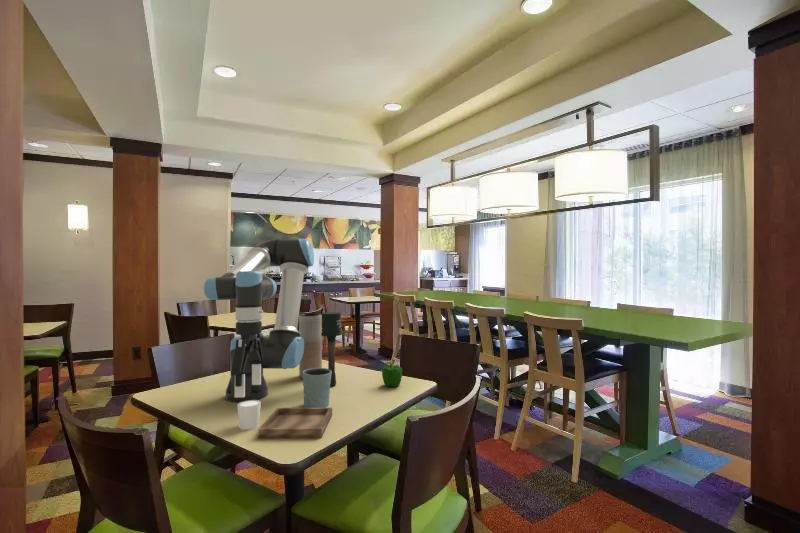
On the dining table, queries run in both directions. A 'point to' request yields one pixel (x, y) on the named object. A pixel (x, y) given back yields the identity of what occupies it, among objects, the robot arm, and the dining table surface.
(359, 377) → the dining table surface
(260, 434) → the tray
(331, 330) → the stick grenade
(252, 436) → the dining table surface
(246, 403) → the white cup
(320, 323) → the vase
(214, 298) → the robot arm
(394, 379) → the bell pepper
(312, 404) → the blue cup
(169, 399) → the dining table surface
